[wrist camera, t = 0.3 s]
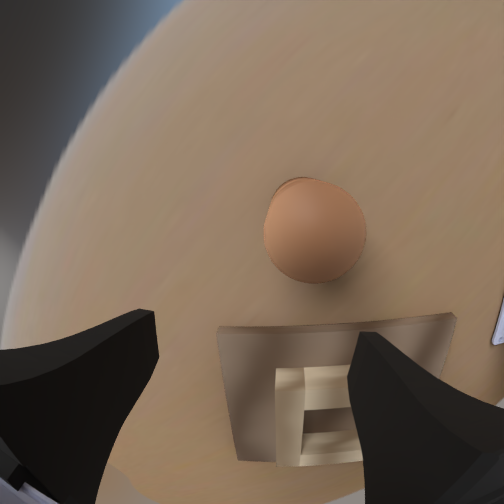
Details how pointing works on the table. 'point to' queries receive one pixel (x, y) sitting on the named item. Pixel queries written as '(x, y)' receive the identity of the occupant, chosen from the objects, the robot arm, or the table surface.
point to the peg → (313, 230)
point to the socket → (310, 384)
